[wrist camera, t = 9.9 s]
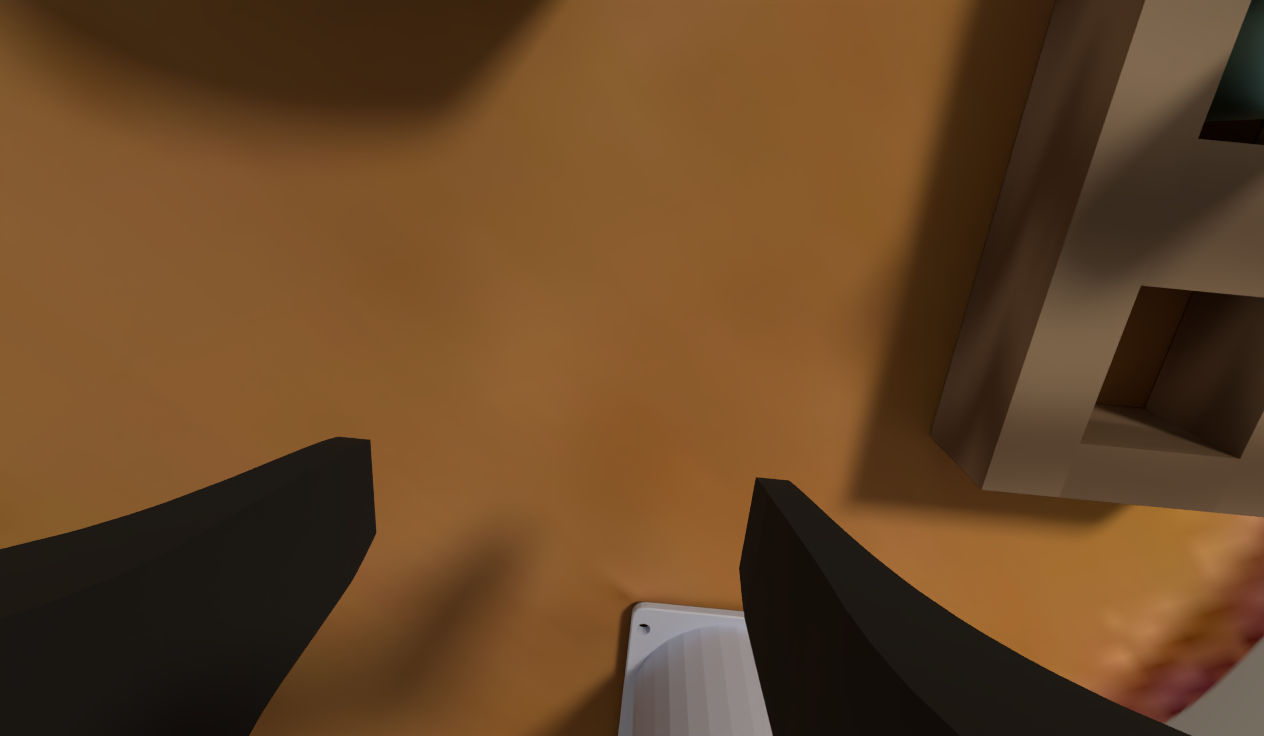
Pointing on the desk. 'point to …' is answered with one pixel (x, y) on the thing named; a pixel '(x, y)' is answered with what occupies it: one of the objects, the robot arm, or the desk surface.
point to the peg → (1243, 73)
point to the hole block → (1119, 273)
